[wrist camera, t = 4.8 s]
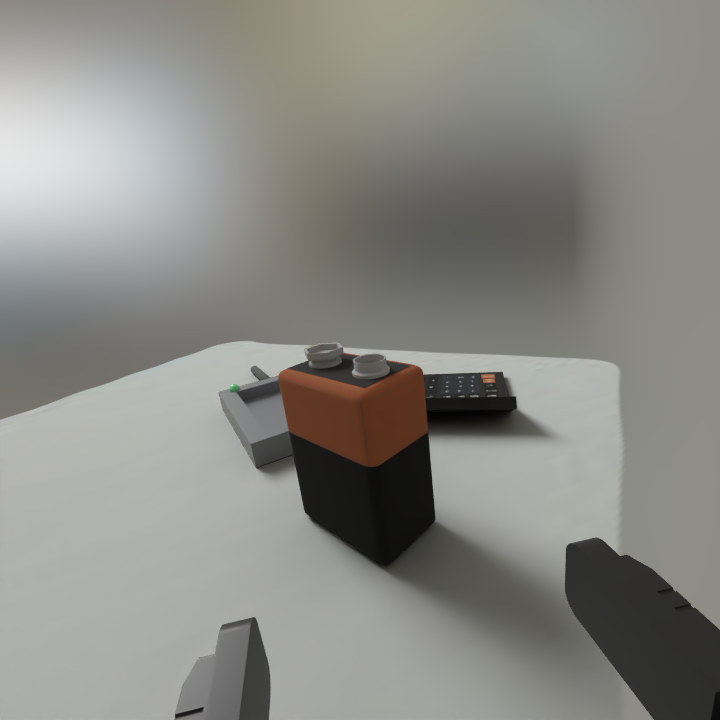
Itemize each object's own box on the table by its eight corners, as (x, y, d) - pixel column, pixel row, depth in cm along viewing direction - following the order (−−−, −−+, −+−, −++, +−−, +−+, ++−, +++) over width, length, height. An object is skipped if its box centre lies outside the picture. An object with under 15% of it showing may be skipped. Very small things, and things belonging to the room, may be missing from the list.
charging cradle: (391, 417, 34) (388, 390, 33) (256, 467, 29) (248, 436, 28) (296, 361, 55) (293, 343, 54) (208, 384, 50) (203, 365, 49)
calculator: (502, 379, 40) (502, 351, 39) (516, 435, 29) (516, 398, 29) (411, 382, 43) (409, 356, 42) (394, 434, 32) (390, 400, 31)
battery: (354, 479, 26) (332, 334, 23) (439, 522, 21) (425, 346, 18) (301, 515, 23) (269, 355, 20) (386, 574, 18) (360, 375, 16)
